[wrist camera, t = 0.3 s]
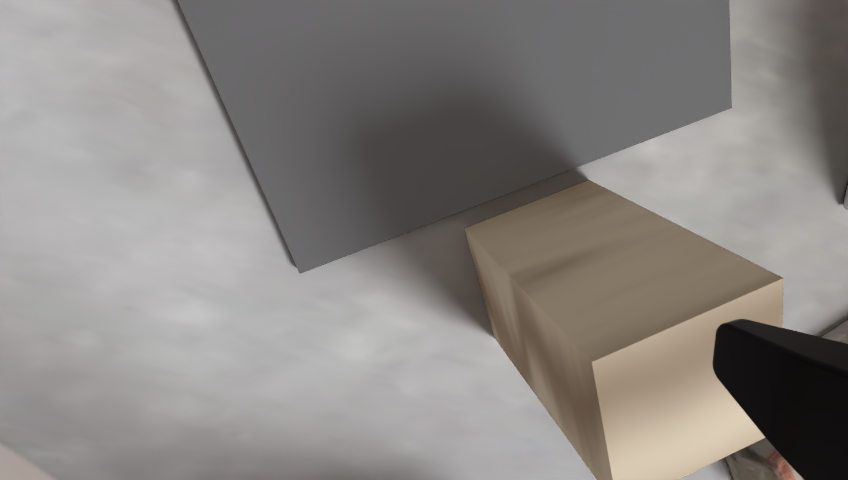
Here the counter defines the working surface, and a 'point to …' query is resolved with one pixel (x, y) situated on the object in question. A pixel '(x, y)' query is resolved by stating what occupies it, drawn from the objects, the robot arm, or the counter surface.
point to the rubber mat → (445, 99)
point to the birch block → (621, 327)
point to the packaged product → (760, 462)
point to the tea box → (846, 199)
